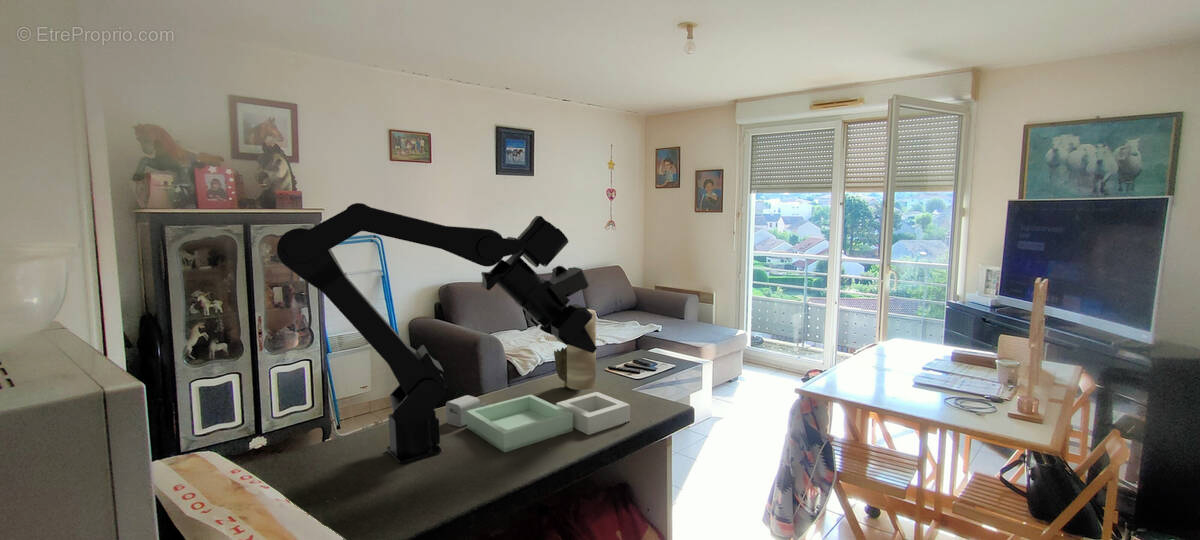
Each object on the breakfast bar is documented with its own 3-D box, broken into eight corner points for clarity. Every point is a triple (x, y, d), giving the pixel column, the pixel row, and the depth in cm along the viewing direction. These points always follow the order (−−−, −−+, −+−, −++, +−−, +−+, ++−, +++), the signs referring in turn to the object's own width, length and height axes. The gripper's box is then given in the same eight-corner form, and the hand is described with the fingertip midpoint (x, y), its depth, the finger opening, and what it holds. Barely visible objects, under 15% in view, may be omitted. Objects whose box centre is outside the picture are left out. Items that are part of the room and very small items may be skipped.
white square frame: (588, 434, 92) (588, 417, 91) (556, 419, 99) (556, 402, 98) (629, 421, 97) (629, 404, 97) (597, 407, 105) (596, 391, 104)
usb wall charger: (446, 423, 98) (445, 401, 98) (476, 411, 103) (476, 390, 103) (461, 428, 96) (460, 405, 95) (491, 416, 101) (490, 394, 101)
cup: (549, 385, 118) (548, 348, 117) (581, 380, 121) (581, 344, 120) (562, 395, 111) (561, 356, 111) (595, 390, 114) (595, 352, 114)
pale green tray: (504, 452, 85) (504, 433, 85) (466, 427, 95) (466, 410, 95) (572, 430, 94) (572, 413, 93) (531, 410, 104) (531, 394, 103)
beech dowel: (578, 391, 93) (578, 315, 92) (561, 384, 97) (560, 311, 96) (601, 385, 96) (601, 311, 95) (584, 379, 100) (583, 308, 99)
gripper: (579, 255, 84) (643, 321, 90) (541, 248, 101) (597, 304, 107) (530, 310, 82) (598, 375, 88) (499, 294, 99) (558, 349, 105)
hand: (588, 347), depth 97 cm, fingers closed on beech dowel, 5 cm apart
